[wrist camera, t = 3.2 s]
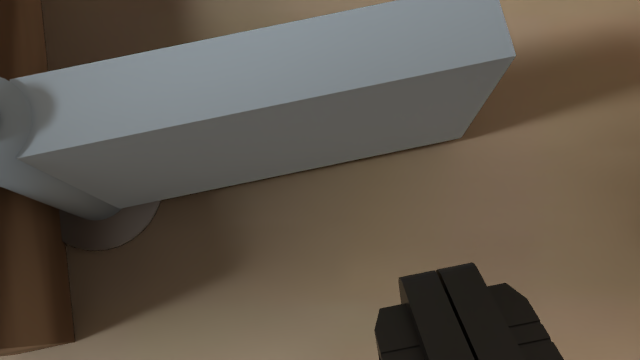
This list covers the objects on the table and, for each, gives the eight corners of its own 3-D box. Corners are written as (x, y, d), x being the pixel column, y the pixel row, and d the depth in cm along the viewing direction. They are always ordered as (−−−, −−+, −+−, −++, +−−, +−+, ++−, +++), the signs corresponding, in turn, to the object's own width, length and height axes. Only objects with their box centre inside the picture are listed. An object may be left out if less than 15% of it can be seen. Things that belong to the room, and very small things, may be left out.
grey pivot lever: (67, 226, 22) (-71, 180, 14) (61, 161, 22) (-76, 85, 15) (460, 145, 22) (520, 59, 15) (443, 82, 22) (492, -30, 15)
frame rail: (15, 354, 21) (-211, 380, 12) (-14, -29, 25) (-203, -212, 16) (182, 319, 21) (74, 320, 12) (128, -58, 25) (16, -255, 16)
